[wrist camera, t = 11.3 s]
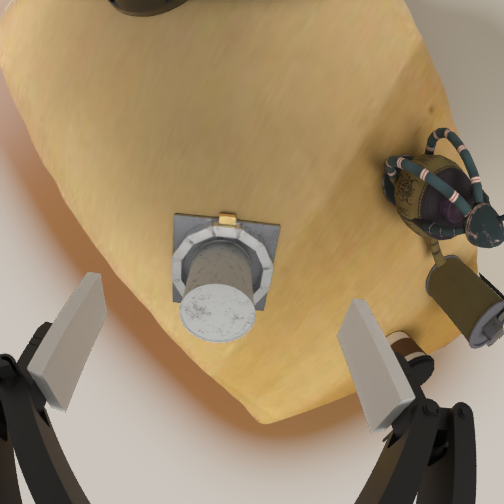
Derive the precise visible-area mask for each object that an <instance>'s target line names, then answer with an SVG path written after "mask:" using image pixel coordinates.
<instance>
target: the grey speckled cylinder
mask: <svg viewBox="0 0 504 504" xmlns="http://www.w3.org/2000/svg"><path fill="white" fill-rule="evenodd" d="M179 315H180V318H181V322H182V323H183V325H184V327H185V328H186V329H187V330H188V331H189V332H190V333H191V334H193V335H194V336H196V337H197V338H200V339H202V340H205V341H208V342H215V343H224V342H230V341H234V340H236V339H239V338H241V337H242V336H244V335H245V334H247V332H248V331H249V330H250V329H251V328H252V326H253V324H254V322H255V317H256V314H255V307H254V300H253V289H252V277H251V261H250V258H249V256H248V254H247V253H246V251H245V250H244V249H243V248H242V247H241V246H239V245H238V244H236V243H234V242H231V241H228V240H213V241H210V242H207V243H205V244H204V245H202V246H201V247H200V248H199V249H198V250H197V251H196V252H195V254H194V256H193V259H192V264H191V268H190V272H189V276H188V279H187V283H186V287H185V291H184V295H183V299H182V301H181V304H180V308H179Z"/></svg>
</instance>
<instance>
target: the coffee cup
mask: <svg viewBox="0 0 504 504" xmlns="http://www.w3.org/2000/svg"><path fill="white" fill-rule="evenodd" d="M386 339H387V341H388V343H389V345H390V346H391V348H392V350H393V352H400V353H401V354H402V355H403V356H404V357H405V358H406V360H407V362H408V364H409V365H410V369H412V371H413V373H414V375H415V377H416V379H417V381H418V383H419V385H420V386H421V385H422V384H423V383H424V382H426V381H427V379H428V378H429V377H430V376H431V375H432V372H433V370H434V359H433V358H432V357H431V356H429V355H426V353H425V352H424V351H423V350H422V349H421V348H420V347H419V346H418V345H417V344H416V343H415V342H414V341H413V340H412V339H411V338H409V337H408V335H406V334H405V333H404V332H400V331H398V332H394V333H392V334H390V335H389V336H388V337H386Z"/></svg>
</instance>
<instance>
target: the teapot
mask: <svg viewBox="0 0 504 504" xmlns="http://www.w3.org/2000/svg"><path fill="white" fill-rule="evenodd" d="M441 138H446V139H448V140H449V141H450V142H451V143H452V145H453V146H454V147H455V148H456V150H457V152H458V153H459V155H460V156H461V158H462V160H463V162H464V164H465V167H466V169H467V172H468V174H469V177H470V179H469V178H468V177H467V175H466V174H465V173H464V172H463V170H462V169H461V168H460V167H459V166H458V165H457V164H456V163H455V162H453V161H451V160H450V159H448V158H446V157H443V156H441V155H434V154H433V153H434V149H435V145H436V142H437V141H438V140H439V139H441ZM424 154H425V155H421V156H418V157H413V156H411V155H400V156H392V157H389V158H387V159H386V161H385V164H384V167H385V171H384V174H383V177H382V188H383V192H384V195H385V196H386V198H387V200H388V201H389V202H390V203H392V204H393V205H394V206H397V211H398V213H399V215H400V216H401V218H402V220H403V221H404V222H405V224H406V225H407V226H408V227H409V228H410V229H412V230H413V231H414V232H415V233H417V234H418V235H420V236H423V237H426V238H430V247H431V251H432V254H433V257H434V260H435V263H436V266H437V268H438V267H440V266H442V265H443V264H444V263H446V260H445V258H444V256H443V255H442V253H441V250H440V247H439V242H438V240H447V239H451V238H453V237H455V236H457V235H460V234H464V233H465V234H466V237H467V239H468V241H469V242H470V243H471V244H473V245H475V246H478V247H483V248H492V247H496V246H498V245H500V244H501V243H502V242H503V241H504V227H503V222H502V221H503V220H504V215H502V216H499V215H498V214H497V212H496V211H495V210H494V209H493V208H492V207H491V205H490V202H489V197H488V195H487V194H486V193H485V192H484V191H483V189H482V186H481V182H480V178H479V174H478V171H477V169H476V166H475V164H474V162H473V159H472V157H471V155H470V153H469V151H468V150H467V148H466V147H465V145H464V144H463V142H462V141H461V140H460V138H459V137H458V136H457V135H456V134H455V133H454V132H453V131H451V130H450V129H448V128H438V129H436V130H435V131H433V132H432V133H431V135H430V136H429V138H428V141H427V146H426V150H425V153H424Z"/></svg>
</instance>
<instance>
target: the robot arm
mask: <svg viewBox="0 0 504 504" xmlns="http://www.w3.org/2000/svg"><path fill="white" fill-rule="evenodd" d="M108 1H109V2H110V3H111V4H112V5H113V6H114V7H115V8H117V9H118V10H119V11H121V12H123V13H125V14H128V15H132V16H151V15H156V14H160V13H163V12H166V11H169V10H171V9H173V8H175V7H177V6H179V5H181V4H182V3H184V2H185V1H187V0H108ZM107 315H108V314H107V309H106V304H105V298H104V293H103V287H102V280H101V274H99V273H92V272H87V274H86V275H85V276H84V278H83V279H82V281H81V282H80V283H79V285H78V286H77V288H76V289H75V291H74V292H73V294H72V295H71V296H70V298H69V299H68V301H67V302H66V304H65V305H64V307H63V308H62V310H61V311H60V313H59V314H58V316H57V318H56V320H55V321H54V322H53V323H49V322H45V323H44V324H42V325H41V326H40V327H39V328H38V329H37V330H36V332H35V334H34V335H33V338H31V340H30V341H29V344H28V345H27V346H26V348H25V350H24V351H23V353H22V355H21V357H20V358H19V360H18V362H17V363H16V361H15V359H14V358H13V357H12V356H11V355H9V354H0V504H22V500H21V496H20V491H19V485H18V479H17V474H16V467H15V459H14V450H15V453H16V456H17V459H18V462H19V465H20V468H21V470H22V473H23V476H24V478H25V481H26V483H27V485H28V488H29V490H30V492H31V495H32V497H33V499H34V501H35V503H36V504H90V502H89V501H88V499H87V497H86V496H85V494H84V492H83V490H82V489H81V487H80V485H79V483H78V481H77V479H76V478H75V476H74V474H73V472H72V470H71V468H70V466H69V464H68V462H67V460H66V457H65V455H64V453H63V451H62V449H61V447H60V444H59V442H58V439H57V437H56V435H55V432H54V430H53V427H52V425H51V422H50V419H49V417H48V414H47V411H46V409H45V408H44V406H45V403H46V401H47V402H48V403H49V405H50V406H51V408H54V409H57V410H59V411H63V412H66V410H67V408H68V405H69V402H70V400H71V397H72V394H73V392H74V389H75V387H76V385H77V382H78V379H79V377H80V375H81V372H82V370H83V368H84V365H85V363H86V361H87V358H88V356H89V354H90V351H91V349H92V347H93V345H94V343H95V340H96V338H97V336H98V334H99V332H100V330H101V327H102V326H103V323H104V321H105V319H106V317H107ZM337 338H338V341H339V343H340V346H341V349H342V351H343V354H344V357H345V359H346V362H347V365H348V368H349V371H350V373H351V376H352V379H353V382H354V385H355V388H356V390H357V393H358V396H359V399H360V402H361V405H362V408H363V411H364V413H365V417H366V420H367V423H368V426H369V429H370V432H371V433H376V432H381V431H385V430H386V429H387V428H388V427H389V426H390V425H392V428H393V430H392V431H391V432H390V433H389V434H388V435H387V436H386V437H385V438H384V439H383V442H384V441H386V440H387V441H386V444H385V446H384V448H383V451H382V453H381V455H380V457H379V459H378V461H377V463H376V465H375V467H374V469H373V471H372V473H371V475H370V477H369V479H368V481H367V483H366V484H365V486H364V488H363V490H362V491H361V493H360V495H359V497H358V498H357V500H356V502H355V503H354V504H413V502H414V500H415V497H416V495H417V501H416V504H475V499H476V443H475V442H476V441H475V428H474V418H473V412H472V410H471V408H470V407H469V406H468V405H467V404H466V403H463V402H458V403H457V404H455V405H454V406H453V407H452V408H441V407H439V405H438V404H437V403H436V402H435V401H433V400H431V399H428V398H427V399H426V397H425V395H424V393H423V391H422V389H421V387H420V385H419V383H418V381H417V379H416V377H415V375H414V373H413V371H412V369H410V365H409V364H408V362H407V360H406V358H405V357H404V356H403V355H402V354H401V353H400V352H393V350H392V348H391V346H390V345H389V343H388V341H387V339H386V337H385V335H384V333H383V331H382V330H381V328H380V326H379V324H378V322H377V320H376V319H375V317H374V315H373V313H372V311H371V310H370V308H369V306H368V304H367V302H366V301H365V299H352V301H351V304H350V306H349V309H348V311H347V313H346V316H345V318H344V320H343V323H342V325H341V327H340V330H339V332H338V334H337ZM13 447H14V449H13ZM417 492H418V494H417Z"/></svg>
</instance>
